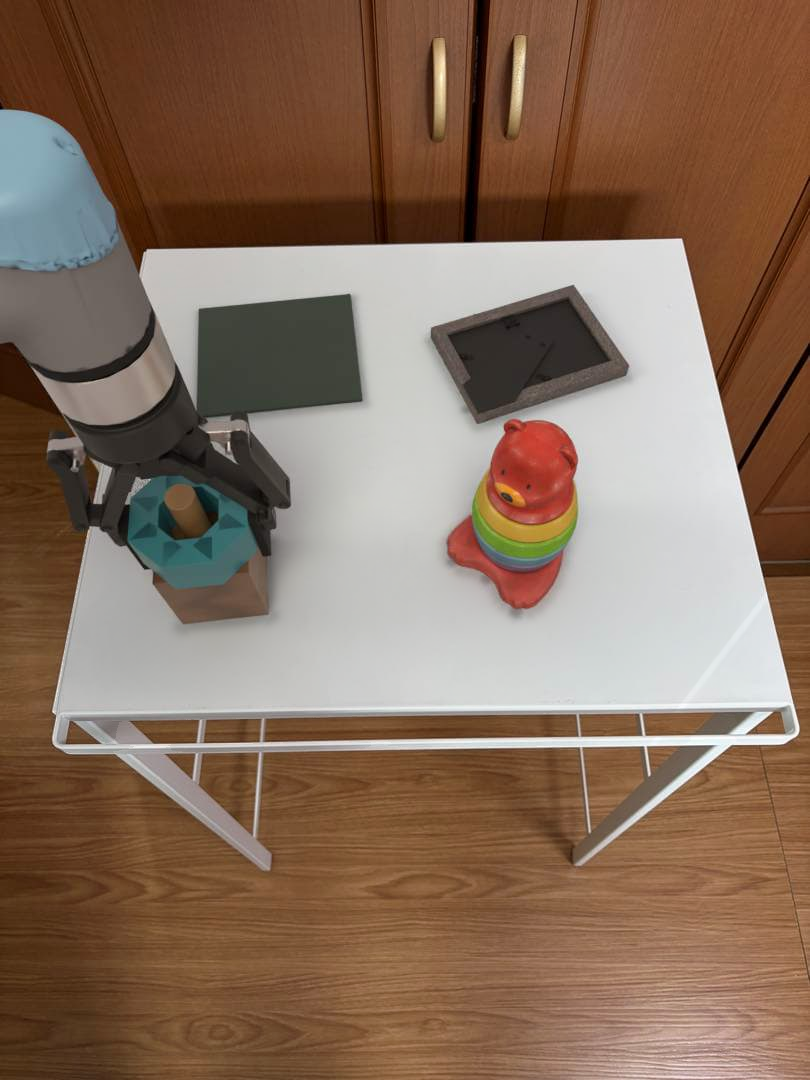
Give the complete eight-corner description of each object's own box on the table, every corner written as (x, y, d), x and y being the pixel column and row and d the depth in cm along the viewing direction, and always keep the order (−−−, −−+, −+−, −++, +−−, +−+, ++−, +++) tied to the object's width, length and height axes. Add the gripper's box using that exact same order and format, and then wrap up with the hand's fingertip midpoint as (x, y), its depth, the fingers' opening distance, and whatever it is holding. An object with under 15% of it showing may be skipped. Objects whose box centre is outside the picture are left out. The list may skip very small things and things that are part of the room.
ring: (141, 593, 61) (124, 572, 58) (147, 494, 66) (131, 469, 62) (258, 580, 61) (248, 558, 58) (256, 483, 66) (246, 457, 62)
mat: (197, 418, 81) (196, 416, 80) (199, 311, 88) (198, 308, 88) (362, 401, 81) (362, 398, 81) (350, 296, 89) (350, 293, 89)
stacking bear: (437, 549, 73) (442, 442, 57) (503, 484, 76) (525, 366, 60) (524, 619, 69) (555, 525, 53) (589, 547, 72) (636, 439, 57)
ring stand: (182, 624, 69) (124, 547, 56) (184, 549, 73) (130, 459, 60) (268, 614, 70) (231, 535, 56) (266, 540, 73) (230, 449, 60)
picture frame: (477, 424, 80) (626, 375, 83) (478, 412, 78) (630, 363, 81) (430, 337, 86) (571, 294, 88) (430, 324, 84) (574, 281, 87)
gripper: (294, 319, 48) (330, 499, 68) (-56, 353, 47) (84, 526, 67) (300, 411, 45) (336, 573, 64) (-78, 450, 44) (76, 602, 63)
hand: (208, 549), depth 66 cm, fingers closed on ring, 10 cm apart
